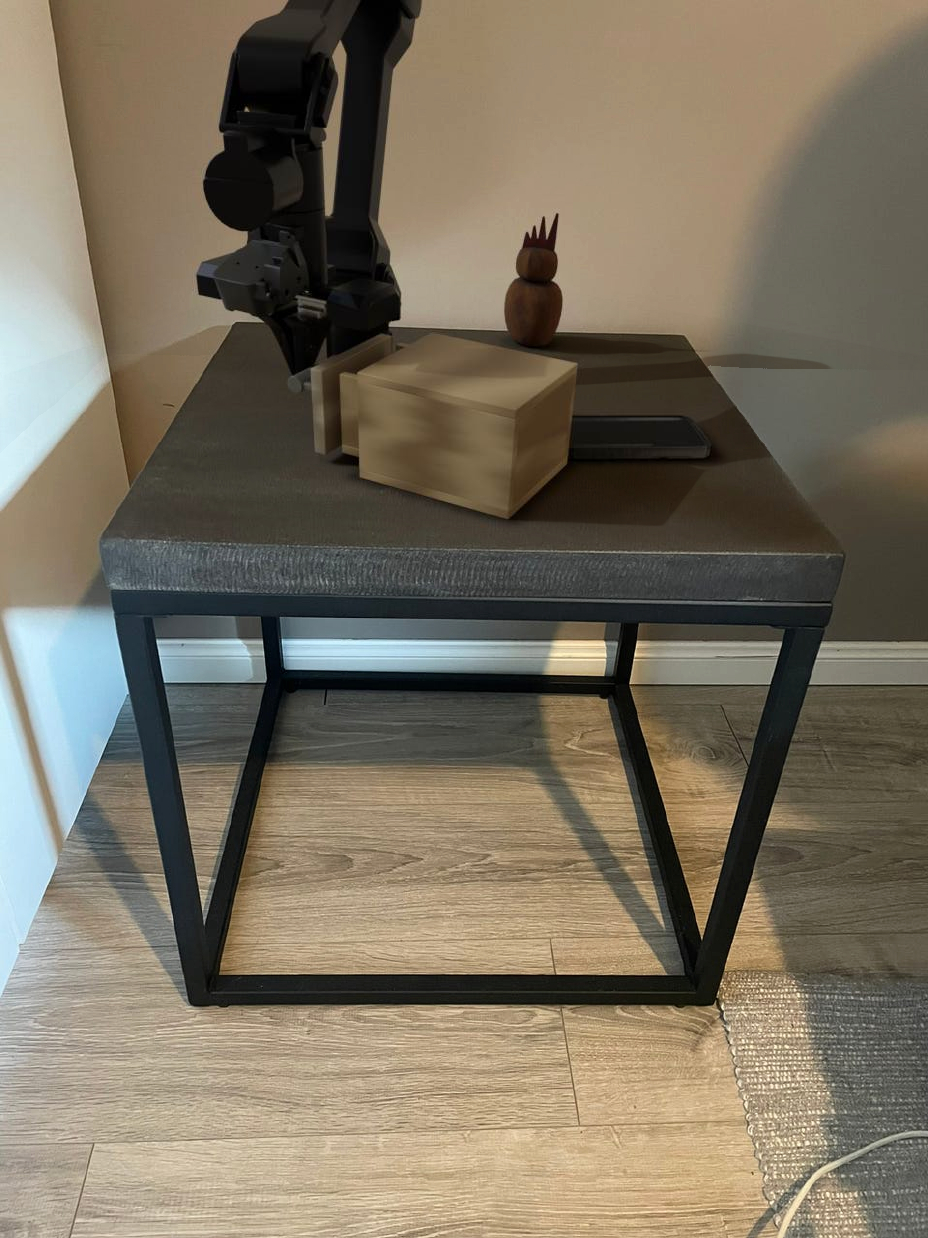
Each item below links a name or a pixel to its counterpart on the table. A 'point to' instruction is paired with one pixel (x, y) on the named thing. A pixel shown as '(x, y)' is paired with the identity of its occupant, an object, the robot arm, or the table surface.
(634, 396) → the table surface
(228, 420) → the table surface
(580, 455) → the phone
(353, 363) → the drawer
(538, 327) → the wooden figurine
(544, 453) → the cabinet
